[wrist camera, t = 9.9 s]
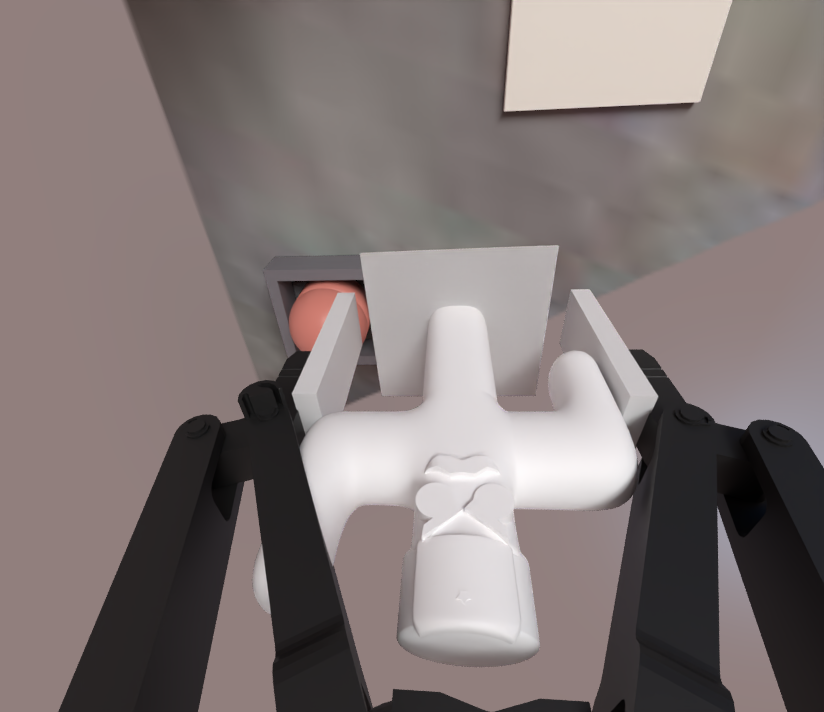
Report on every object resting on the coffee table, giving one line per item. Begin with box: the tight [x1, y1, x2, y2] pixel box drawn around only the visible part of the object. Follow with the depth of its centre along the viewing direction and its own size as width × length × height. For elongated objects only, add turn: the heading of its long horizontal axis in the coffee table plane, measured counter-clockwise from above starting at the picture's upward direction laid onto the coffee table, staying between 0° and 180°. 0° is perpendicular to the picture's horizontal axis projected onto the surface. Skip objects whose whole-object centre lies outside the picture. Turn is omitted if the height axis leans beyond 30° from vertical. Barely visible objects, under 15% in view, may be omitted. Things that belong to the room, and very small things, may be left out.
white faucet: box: [252, 245, 639, 667], centre depth 14 cm, size 7×9×15 cm
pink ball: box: [289, 280, 370, 351], centre depth 36 cm, size 7×7×7 cm
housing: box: [263, 255, 377, 365], centre depth 37 cm, size 10×10×3 cm
